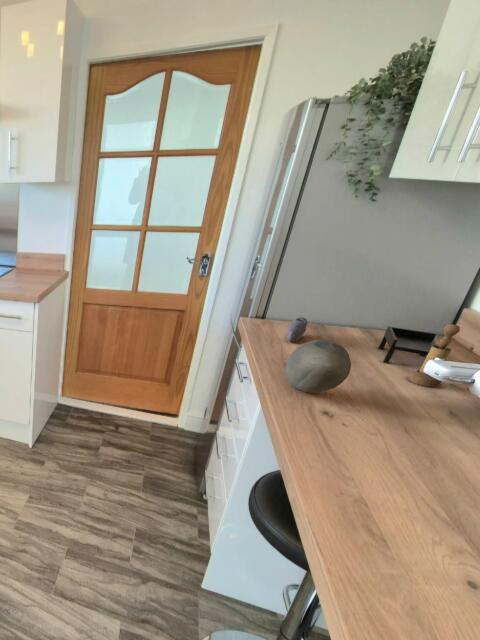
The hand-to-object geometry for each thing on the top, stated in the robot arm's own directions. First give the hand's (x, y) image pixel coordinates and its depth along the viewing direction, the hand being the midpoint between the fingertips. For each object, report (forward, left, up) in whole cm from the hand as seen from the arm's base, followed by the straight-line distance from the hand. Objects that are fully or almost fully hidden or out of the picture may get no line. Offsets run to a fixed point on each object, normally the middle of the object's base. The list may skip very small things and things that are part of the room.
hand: (459, 362), depth 116 cm
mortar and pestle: (+3, -8, -10) cm, 13 cm away
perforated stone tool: (+36, -28, -10) cm, 46 cm away
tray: (+5, -28, -10) cm, 30 cm away
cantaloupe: (+31, +20, -10) cm, 38 cm away
